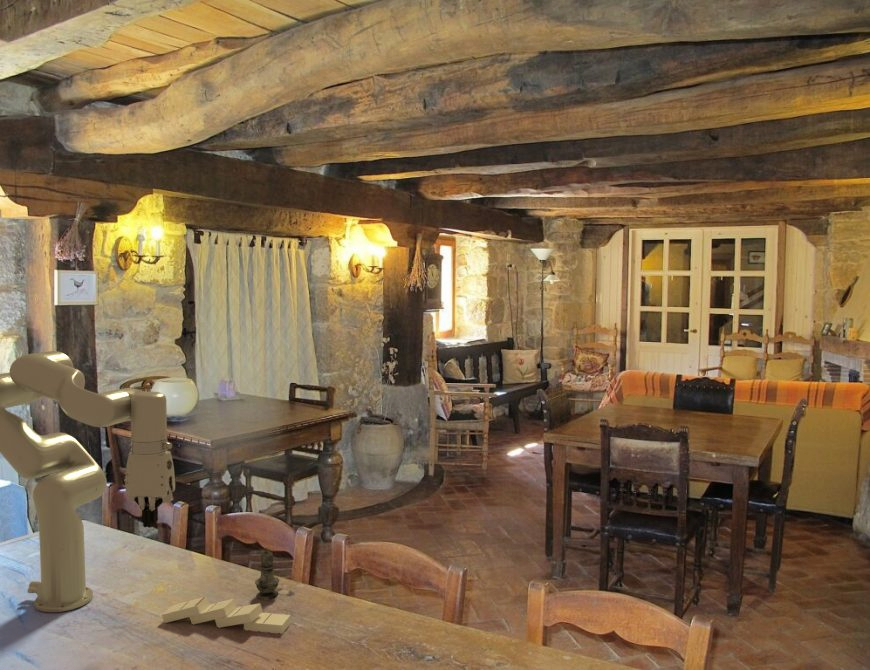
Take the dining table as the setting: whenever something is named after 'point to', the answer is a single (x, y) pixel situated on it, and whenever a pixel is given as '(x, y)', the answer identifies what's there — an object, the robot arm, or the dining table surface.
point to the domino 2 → (215, 611)
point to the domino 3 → (240, 615)
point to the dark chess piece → (267, 578)
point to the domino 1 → (185, 609)
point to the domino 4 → (269, 623)
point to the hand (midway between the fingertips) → (150, 525)
